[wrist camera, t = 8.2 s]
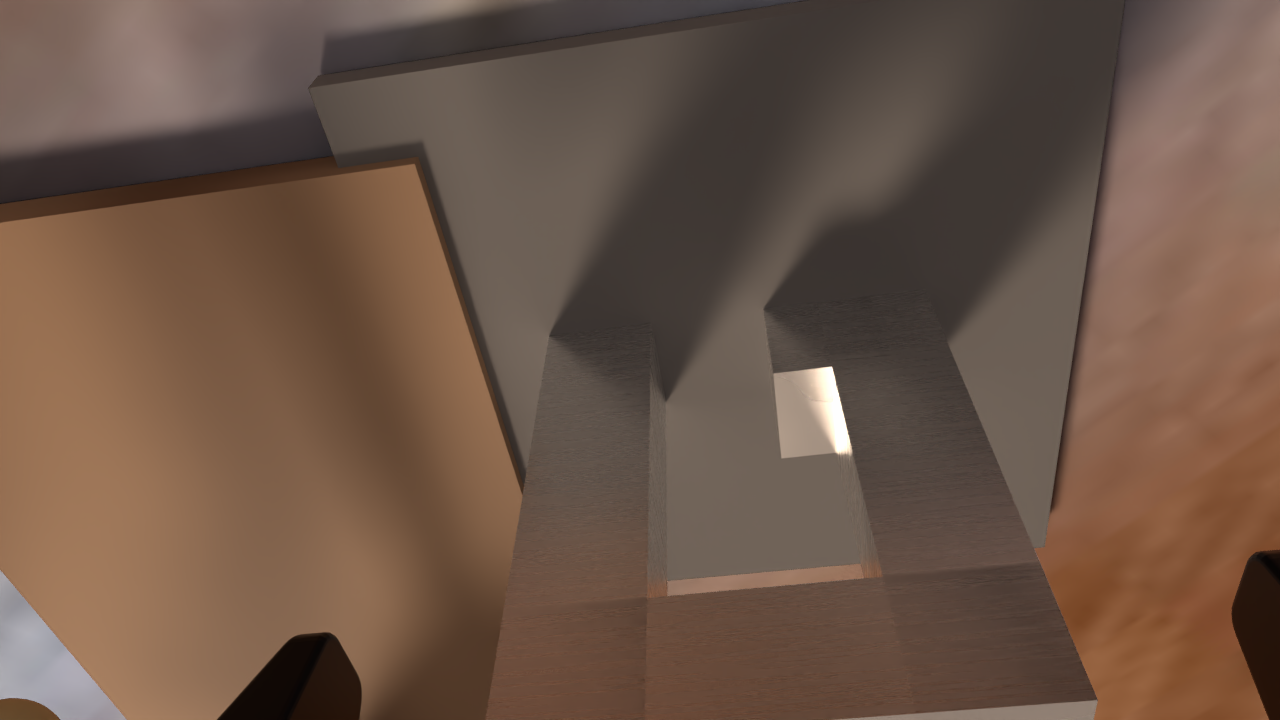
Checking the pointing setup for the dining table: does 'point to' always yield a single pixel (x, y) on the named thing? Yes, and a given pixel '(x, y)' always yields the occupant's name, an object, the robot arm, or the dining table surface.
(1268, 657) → the robot arm
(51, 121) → the dining table surface
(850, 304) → the slotted rectangular block
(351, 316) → the link stand
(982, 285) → the slate coaster
